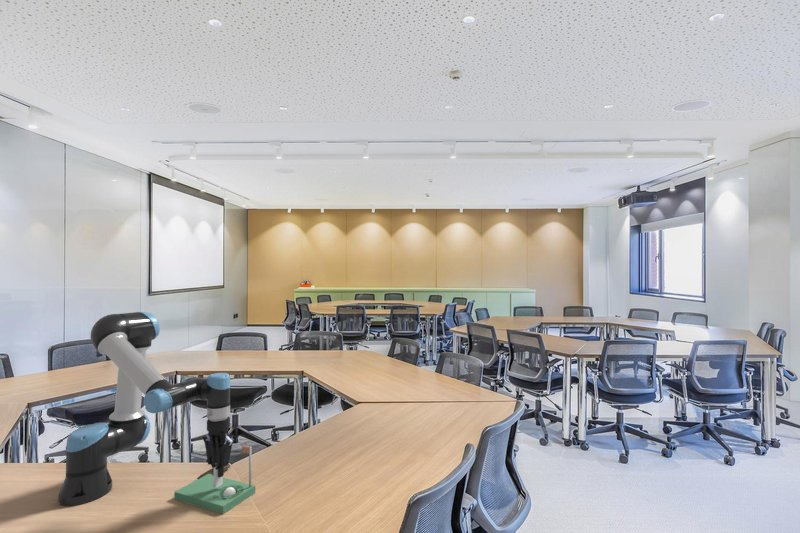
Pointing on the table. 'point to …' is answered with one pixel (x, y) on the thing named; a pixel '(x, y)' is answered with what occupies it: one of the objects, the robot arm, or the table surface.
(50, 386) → the table surface
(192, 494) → the green
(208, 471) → the stone
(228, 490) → the ball
